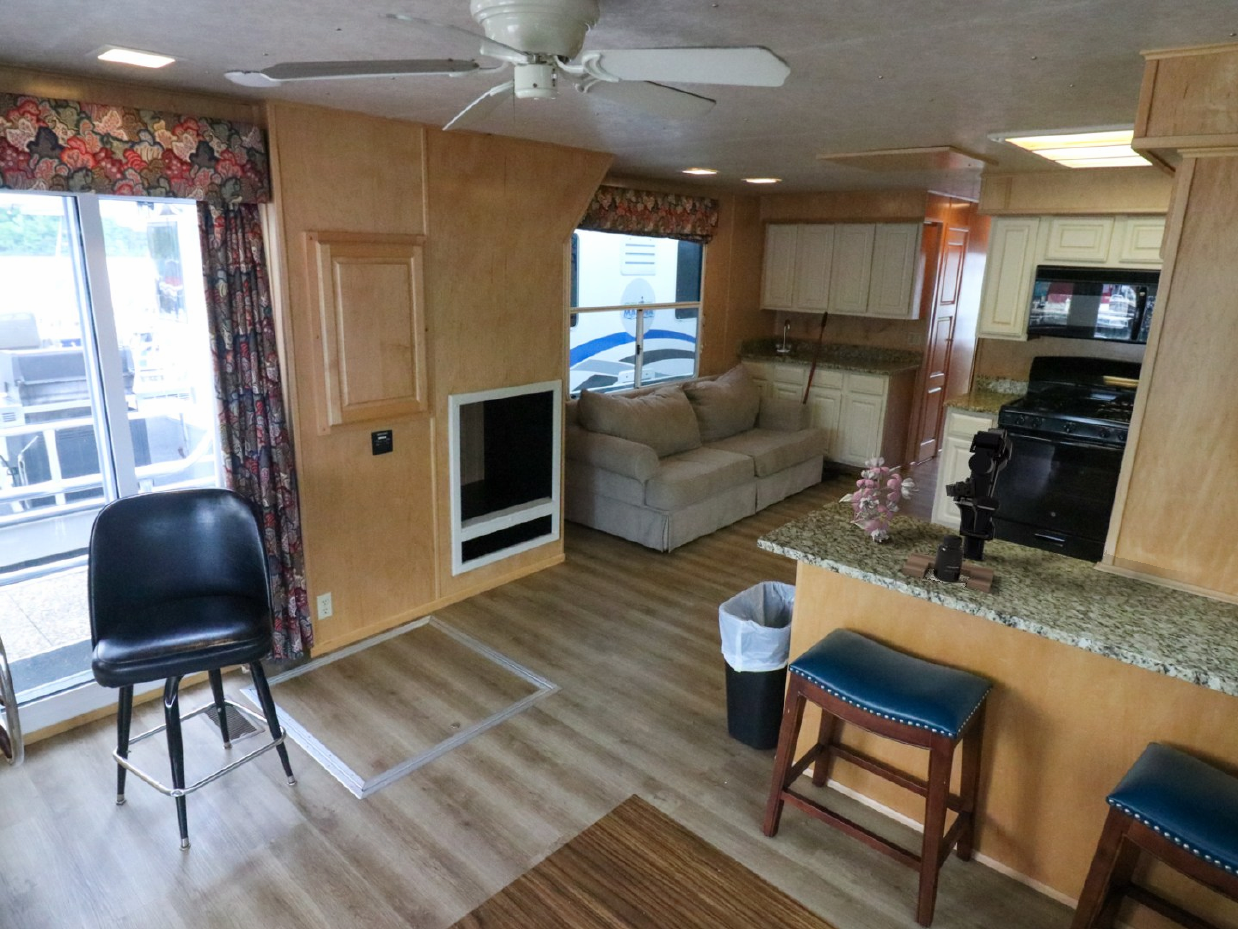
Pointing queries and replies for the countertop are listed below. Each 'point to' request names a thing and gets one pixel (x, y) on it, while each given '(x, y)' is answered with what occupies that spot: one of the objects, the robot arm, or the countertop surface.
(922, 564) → the notched shelf board
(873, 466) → the flower
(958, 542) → the supplement bottle
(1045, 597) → the countertop surface
